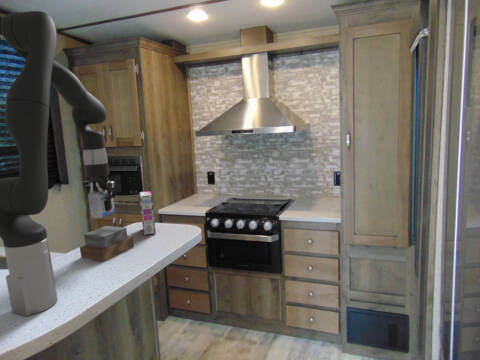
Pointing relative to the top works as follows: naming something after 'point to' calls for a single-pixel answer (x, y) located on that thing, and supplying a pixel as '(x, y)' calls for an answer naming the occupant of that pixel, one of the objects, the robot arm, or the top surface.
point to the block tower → (106, 243)
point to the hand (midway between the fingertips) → (102, 209)
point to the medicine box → (99, 205)
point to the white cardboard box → (147, 213)
